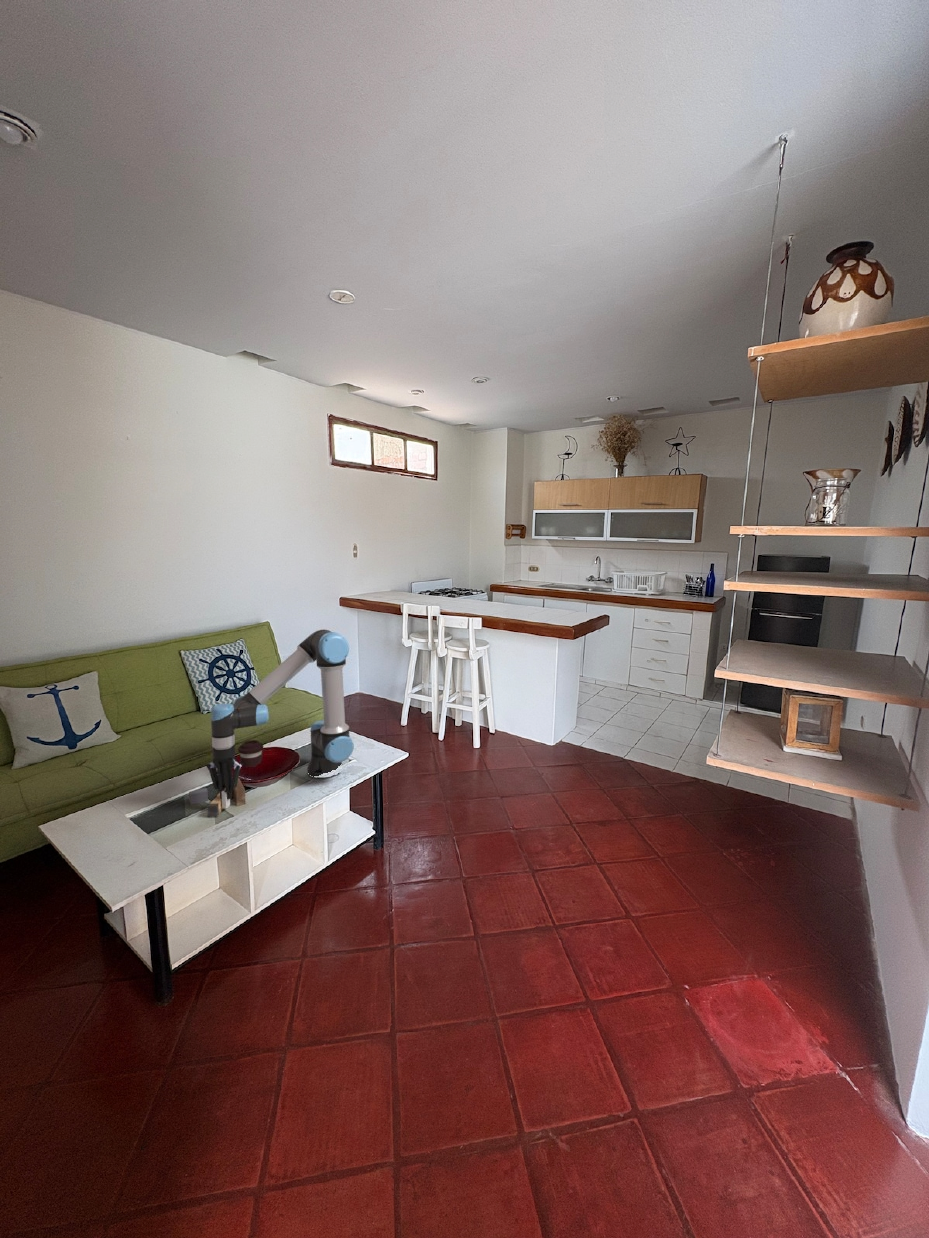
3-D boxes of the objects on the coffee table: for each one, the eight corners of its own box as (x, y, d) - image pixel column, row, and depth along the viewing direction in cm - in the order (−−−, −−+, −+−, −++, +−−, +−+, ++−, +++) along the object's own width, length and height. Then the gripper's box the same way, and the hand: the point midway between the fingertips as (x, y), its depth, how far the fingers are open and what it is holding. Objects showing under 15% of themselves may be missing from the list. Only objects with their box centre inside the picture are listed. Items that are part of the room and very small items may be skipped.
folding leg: (225, 796, 194) (224, 783, 194) (233, 795, 195) (233, 783, 194) (207, 817, 179) (207, 803, 178) (217, 816, 179) (216, 803, 178)
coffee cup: (234, 777, 211) (232, 744, 210) (253, 769, 220) (252, 737, 218) (250, 782, 207) (248, 748, 205) (269, 774, 216) (268, 741, 214)
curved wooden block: (238, 790, 200) (237, 775, 200) (245, 803, 189) (244, 789, 188) (230, 791, 199) (229, 777, 198) (237, 806, 187) (236, 791, 186)
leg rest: (206, 797, 194) (206, 787, 193) (208, 800, 191) (207, 790, 191) (189, 801, 190) (189, 791, 190) (190, 804, 188) (190, 794, 187)
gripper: (246, 743, 184) (248, 802, 187) (212, 741, 185) (215, 800, 188) (235, 750, 177) (237, 812, 179) (200, 749, 178) (203, 810, 180)
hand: (226, 806), depth 184 cm, fingers closed
